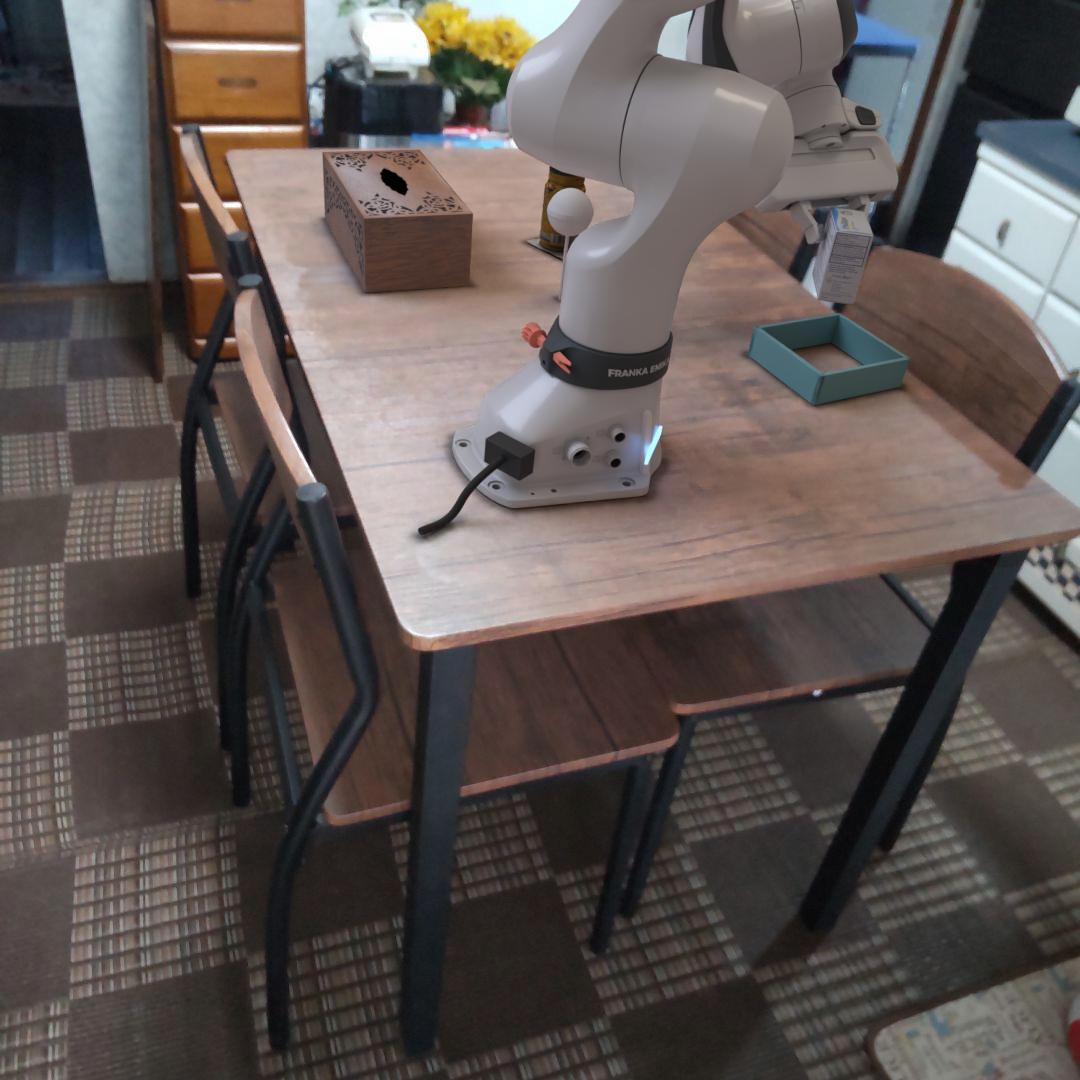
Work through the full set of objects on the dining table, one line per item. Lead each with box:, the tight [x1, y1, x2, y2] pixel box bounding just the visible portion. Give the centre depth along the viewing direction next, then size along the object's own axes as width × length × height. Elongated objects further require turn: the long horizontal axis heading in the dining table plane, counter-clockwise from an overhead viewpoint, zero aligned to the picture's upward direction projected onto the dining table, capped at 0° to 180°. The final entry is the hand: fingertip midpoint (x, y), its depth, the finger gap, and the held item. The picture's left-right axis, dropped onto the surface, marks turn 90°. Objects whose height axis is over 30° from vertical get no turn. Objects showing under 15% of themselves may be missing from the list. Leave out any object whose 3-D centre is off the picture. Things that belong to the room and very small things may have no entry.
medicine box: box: [811, 207, 874, 306], centre depth 118 cm, size 8×4×9 cm, turn 172°
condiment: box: [526, 166, 587, 260], centre depth 146 cm, size 7×8×12 cm
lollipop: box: [547, 188, 595, 301], centre depth 131 cm, size 6×6×15 cm
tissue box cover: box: [321, 149, 474, 294], centre depth 140 cm, size 26×14×10 cm, turn 21°
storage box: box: [747, 312, 911, 406], centre depth 125 cm, size 14×13×4 cm
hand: (840, 239), depth 119 cm, fingers closed on medicine box, 5 cm apart
